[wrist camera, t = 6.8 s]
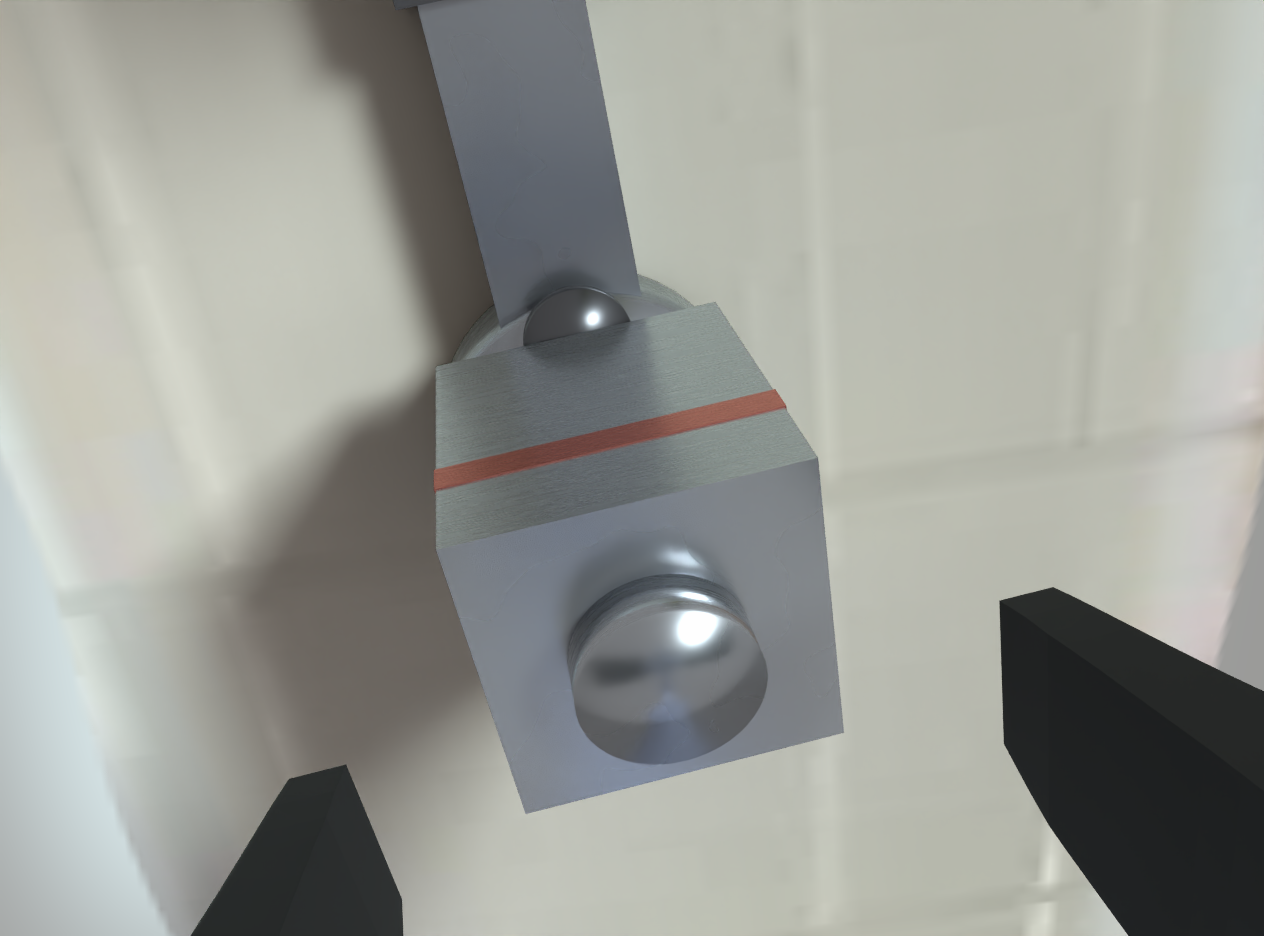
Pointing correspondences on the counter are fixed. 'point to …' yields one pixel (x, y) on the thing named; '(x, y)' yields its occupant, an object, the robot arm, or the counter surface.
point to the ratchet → (536, 170)
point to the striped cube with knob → (634, 554)
